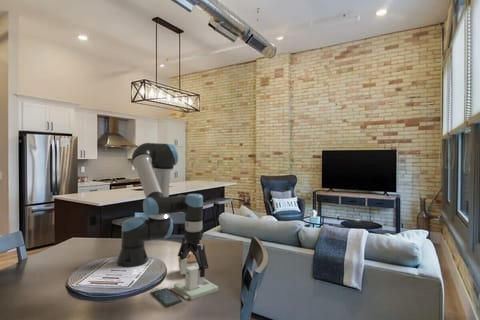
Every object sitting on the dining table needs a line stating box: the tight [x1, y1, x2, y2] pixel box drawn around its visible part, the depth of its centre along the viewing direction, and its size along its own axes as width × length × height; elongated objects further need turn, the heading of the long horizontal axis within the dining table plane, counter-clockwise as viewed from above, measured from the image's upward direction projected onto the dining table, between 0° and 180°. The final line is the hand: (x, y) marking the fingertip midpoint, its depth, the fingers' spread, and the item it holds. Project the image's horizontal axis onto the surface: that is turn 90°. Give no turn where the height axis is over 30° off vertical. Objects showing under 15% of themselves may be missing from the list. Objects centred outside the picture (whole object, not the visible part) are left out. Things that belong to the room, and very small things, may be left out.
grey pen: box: [166, 286, 190, 300], centre depth 124 cm, size 13×1×1 cm, turn 50°
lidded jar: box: [177, 253, 199, 276], centre depth 146 cm, size 11×11×9 cm
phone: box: [150, 287, 183, 308], centre depth 121 cm, size 14×7×1 cm, turn 41°
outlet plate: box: [173, 278, 219, 301], centre depth 129 cm, size 14×14×2 cm
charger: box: [184, 266, 199, 291], centre depth 127 cm, size 4×4×10 cm
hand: (191, 278), depth 127 cm, fingers open, 13 cm apart
